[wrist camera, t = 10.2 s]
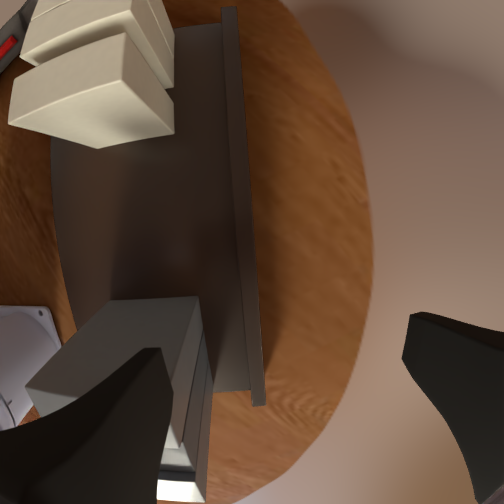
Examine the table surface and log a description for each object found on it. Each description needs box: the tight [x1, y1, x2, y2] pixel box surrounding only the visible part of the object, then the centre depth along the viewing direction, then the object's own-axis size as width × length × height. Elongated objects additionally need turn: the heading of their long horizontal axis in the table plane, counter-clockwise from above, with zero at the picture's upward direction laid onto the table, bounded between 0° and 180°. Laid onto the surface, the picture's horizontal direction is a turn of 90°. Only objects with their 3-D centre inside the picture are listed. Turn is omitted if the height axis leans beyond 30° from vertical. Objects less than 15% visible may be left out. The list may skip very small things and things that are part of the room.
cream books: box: [20, 0, 175, 89], centre depth 10 cm, size 6×4×9 cm
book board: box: [51, 6, 266, 407], centre depth 16 cm, size 14×27×3 cm, turn 4°
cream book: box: [8, 32, 175, 149], centre depth 11 cm, size 6×2×9 cm, turn 94°
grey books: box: [25, 296, 213, 502], centre depth 13 cm, size 6×7×10 cm
